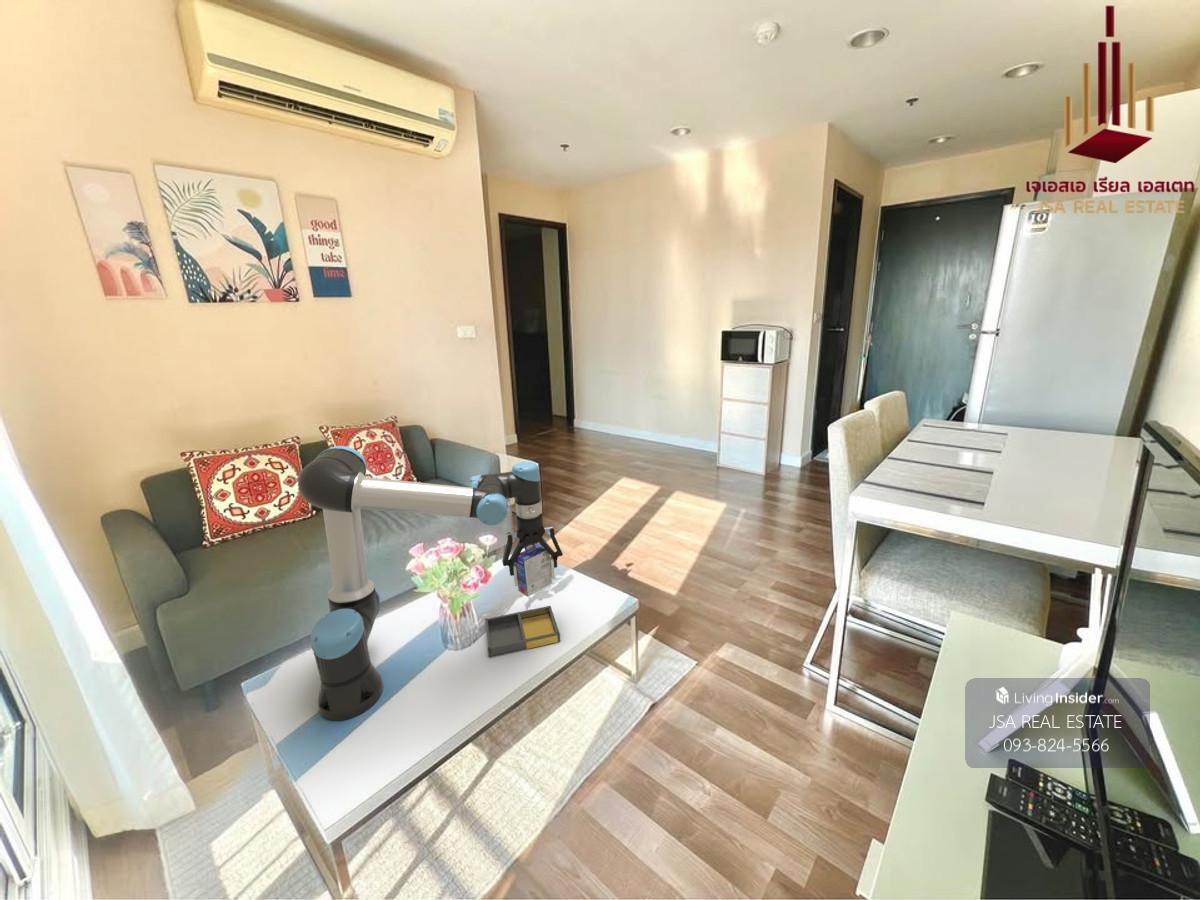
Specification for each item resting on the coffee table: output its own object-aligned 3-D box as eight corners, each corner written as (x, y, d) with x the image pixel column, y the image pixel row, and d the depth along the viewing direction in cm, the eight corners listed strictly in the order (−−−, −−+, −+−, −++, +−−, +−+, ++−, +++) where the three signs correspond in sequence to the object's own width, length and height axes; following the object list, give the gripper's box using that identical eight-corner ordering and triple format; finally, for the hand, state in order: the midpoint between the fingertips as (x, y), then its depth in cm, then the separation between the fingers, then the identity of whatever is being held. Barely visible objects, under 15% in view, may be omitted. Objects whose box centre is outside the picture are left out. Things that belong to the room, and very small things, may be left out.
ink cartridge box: (541, 577, 147) (538, 536, 143) (553, 583, 144) (550, 541, 140) (516, 590, 141) (512, 548, 136) (527, 597, 137) (524, 554, 133)
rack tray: (489, 658, 136) (488, 649, 135) (485, 626, 149) (484, 618, 148) (560, 642, 141) (559, 634, 140) (551, 613, 155) (550, 605, 154)
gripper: (489, 525, 129) (497, 594, 135) (570, 513, 135) (574, 579, 141) (488, 514, 135) (495, 580, 142) (565, 503, 142) (568, 567, 148)
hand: (534, 580), depth 142 cm, fingers closed on ink cartridge box, 11 cm apart
